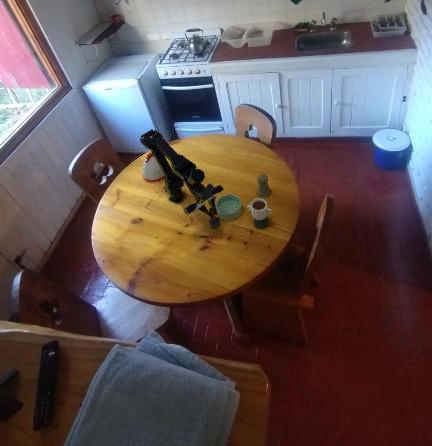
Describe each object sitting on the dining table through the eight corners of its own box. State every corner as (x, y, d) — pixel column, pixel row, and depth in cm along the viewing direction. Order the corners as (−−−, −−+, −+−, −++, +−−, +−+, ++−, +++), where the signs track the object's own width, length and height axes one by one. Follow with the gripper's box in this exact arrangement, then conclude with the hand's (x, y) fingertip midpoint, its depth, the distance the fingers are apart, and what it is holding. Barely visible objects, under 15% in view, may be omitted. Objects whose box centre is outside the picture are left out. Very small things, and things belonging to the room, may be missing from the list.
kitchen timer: (173, 169, 194) (166, 148, 185) (157, 185, 186) (149, 164, 177) (154, 162, 201) (147, 142, 192) (138, 178, 193) (130, 157, 184)
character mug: (274, 219, 156) (273, 200, 148) (271, 232, 151) (269, 213, 143) (251, 215, 160) (248, 196, 152) (247, 227, 155) (244, 208, 147)
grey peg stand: (207, 228, 151) (203, 213, 145) (211, 219, 154) (207, 204, 148) (218, 230, 149) (215, 215, 143) (222, 221, 153) (218, 206, 146)
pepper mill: (256, 189, 172) (254, 173, 165) (268, 187, 172) (267, 171, 165) (259, 198, 167) (257, 182, 161) (271, 195, 167) (269, 179, 160)
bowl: (212, 216, 163) (210, 209, 161) (224, 197, 171) (222, 191, 168) (235, 223, 158) (234, 217, 155) (246, 204, 166) (245, 198, 163)
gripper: (181, 195, 136) (203, 229, 135) (217, 170, 144) (238, 202, 143) (175, 198, 146) (195, 229, 146) (209, 175, 154) (228, 205, 153)
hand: (214, 216), depth 147 cm, fingers closed on grey peg stand, 2 cm apart
